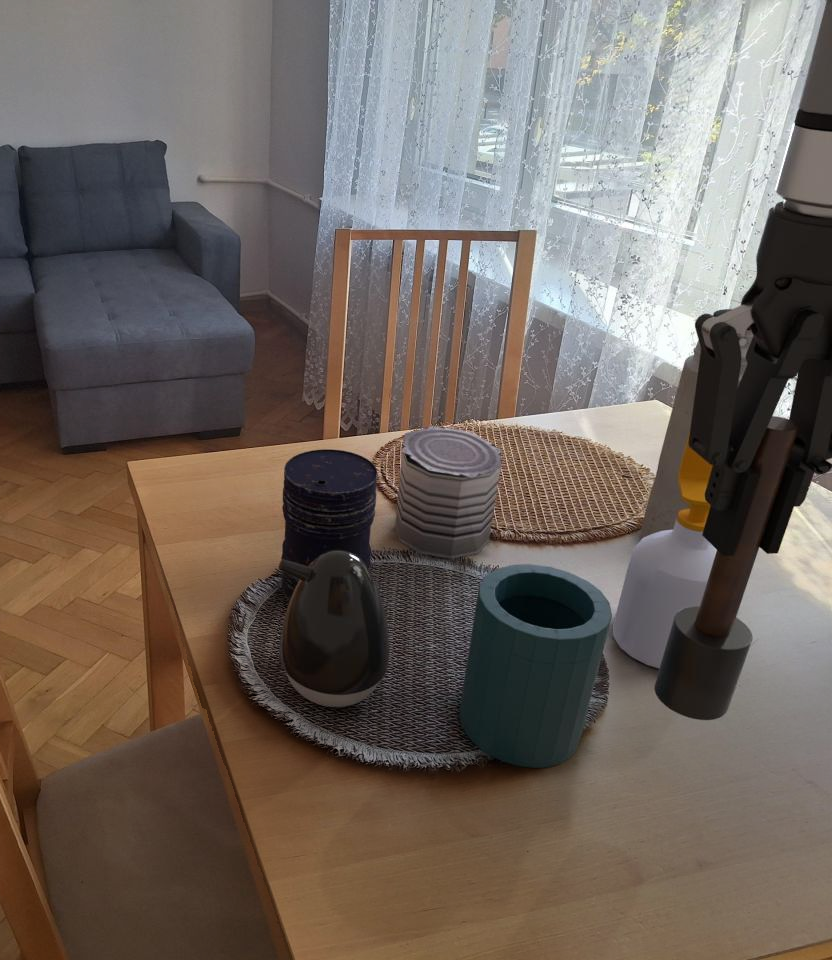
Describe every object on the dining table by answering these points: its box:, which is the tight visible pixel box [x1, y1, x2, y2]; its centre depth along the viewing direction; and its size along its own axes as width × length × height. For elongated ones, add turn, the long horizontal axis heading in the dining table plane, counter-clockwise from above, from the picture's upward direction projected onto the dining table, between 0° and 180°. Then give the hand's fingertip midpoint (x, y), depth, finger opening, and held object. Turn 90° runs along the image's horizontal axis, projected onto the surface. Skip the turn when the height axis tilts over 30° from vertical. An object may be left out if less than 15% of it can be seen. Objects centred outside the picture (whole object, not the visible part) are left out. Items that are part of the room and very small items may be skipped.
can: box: [394, 425, 503, 560], centre depth 103 cm, size 11×11×12 cm
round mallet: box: [654, 415, 799, 721], centre depth 62 cm, size 5×5×24 cm
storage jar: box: [280, 448, 378, 602], centre depth 93 cm, size 10×10×15 cm
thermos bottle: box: [639, 308, 753, 541], centre depth 95 cm, size 8×8×28 cm
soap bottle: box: [612, 432, 717, 669], centre depth 80 cm, size 9×9×25 cm
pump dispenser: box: [278, 549, 390, 708], centre depth 79 cm, size 10×10×15 cm
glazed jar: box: [459, 563, 613, 769], centre depth 74 cm, size 10×10×14 cm
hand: (739, 543), depth 61 cm, fingers closed on round mallet, 2 cm apart
